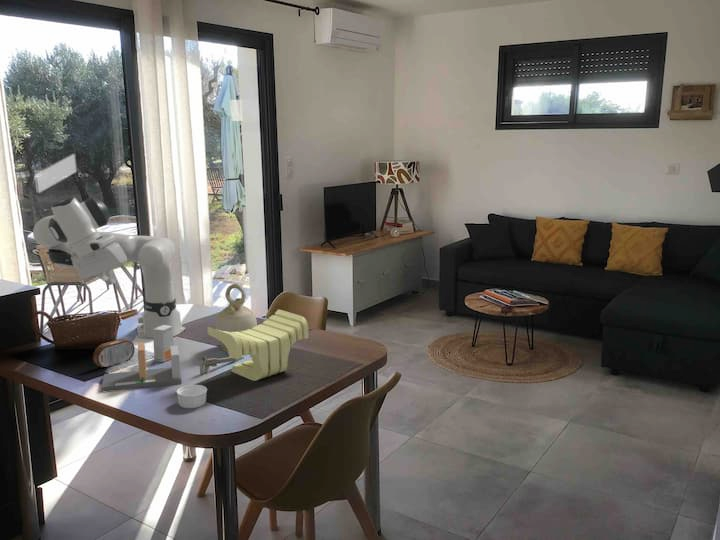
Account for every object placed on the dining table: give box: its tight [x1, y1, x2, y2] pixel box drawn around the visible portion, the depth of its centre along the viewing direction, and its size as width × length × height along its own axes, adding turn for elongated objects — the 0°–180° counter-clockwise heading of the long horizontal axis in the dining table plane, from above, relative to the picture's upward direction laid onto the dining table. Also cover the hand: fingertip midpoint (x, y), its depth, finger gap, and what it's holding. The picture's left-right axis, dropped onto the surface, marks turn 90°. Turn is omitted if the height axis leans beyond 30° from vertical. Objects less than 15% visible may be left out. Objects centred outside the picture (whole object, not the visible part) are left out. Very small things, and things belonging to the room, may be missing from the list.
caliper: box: [199, 356, 245, 375], centre depth 217 cm, size 20×1×6 cm, turn 147°
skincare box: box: [152, 325, 174, 363], centre depth 223 cm, size 6×4×12 cm
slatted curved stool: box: [207, 308, 309, 382], centre depth 211 cm, size 30×16×18 cm, turn 137°
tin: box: [92, 338, 135, 368], centre depth 218 cm, size 15×3×8 cm, turn 145°
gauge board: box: [101, 344, 182, 393], centre depth 203 cm, size 24×12×10 cm, turn 108°
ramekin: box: [176, 384, 208, 409], centre depth 186 cm, size 9×9×4 cm
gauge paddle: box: [137, 342, 147, 382], centre depth 201 cm, size 2×10×10 cm, turn 18°
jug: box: [215, 283, 258, 353], centre depth 234 cm, size 15×16×25 cm
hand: (112, 283), depth 200 cm, fingers closed
